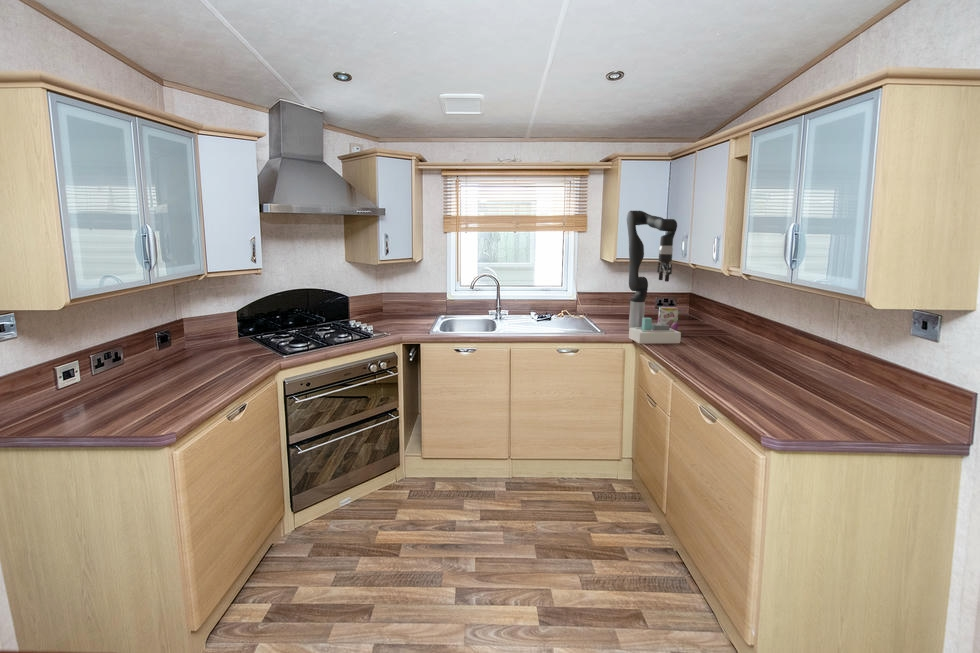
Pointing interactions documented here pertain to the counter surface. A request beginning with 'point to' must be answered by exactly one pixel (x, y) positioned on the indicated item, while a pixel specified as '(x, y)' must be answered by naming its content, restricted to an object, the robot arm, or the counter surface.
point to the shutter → (660, 326)
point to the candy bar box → (669, 316)
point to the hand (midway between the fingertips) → (663, 280)
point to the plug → (646, 323)
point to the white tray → (654, 335)
